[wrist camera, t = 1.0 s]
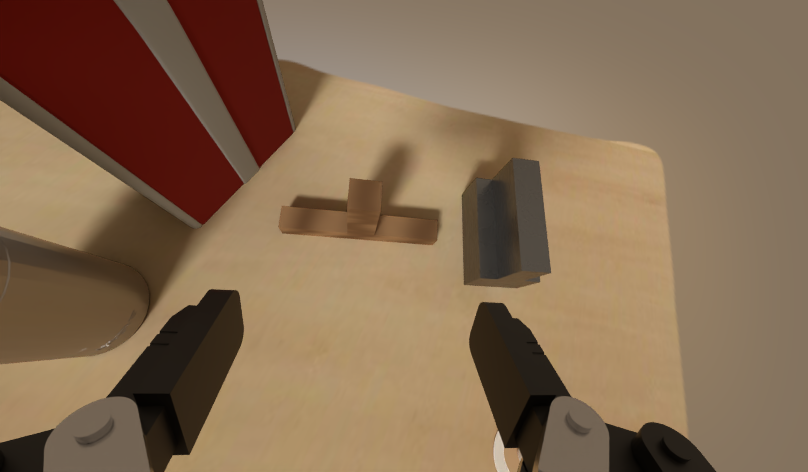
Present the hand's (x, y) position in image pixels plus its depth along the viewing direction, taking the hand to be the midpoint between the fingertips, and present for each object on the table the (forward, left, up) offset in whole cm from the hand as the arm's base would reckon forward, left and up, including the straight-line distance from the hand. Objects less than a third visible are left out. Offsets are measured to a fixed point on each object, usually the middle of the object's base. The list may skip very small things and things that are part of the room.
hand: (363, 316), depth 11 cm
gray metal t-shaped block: (+9, +18, -26) cm, 33 cm away
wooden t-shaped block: (-6, +10, -26) cm, 28 cm away
